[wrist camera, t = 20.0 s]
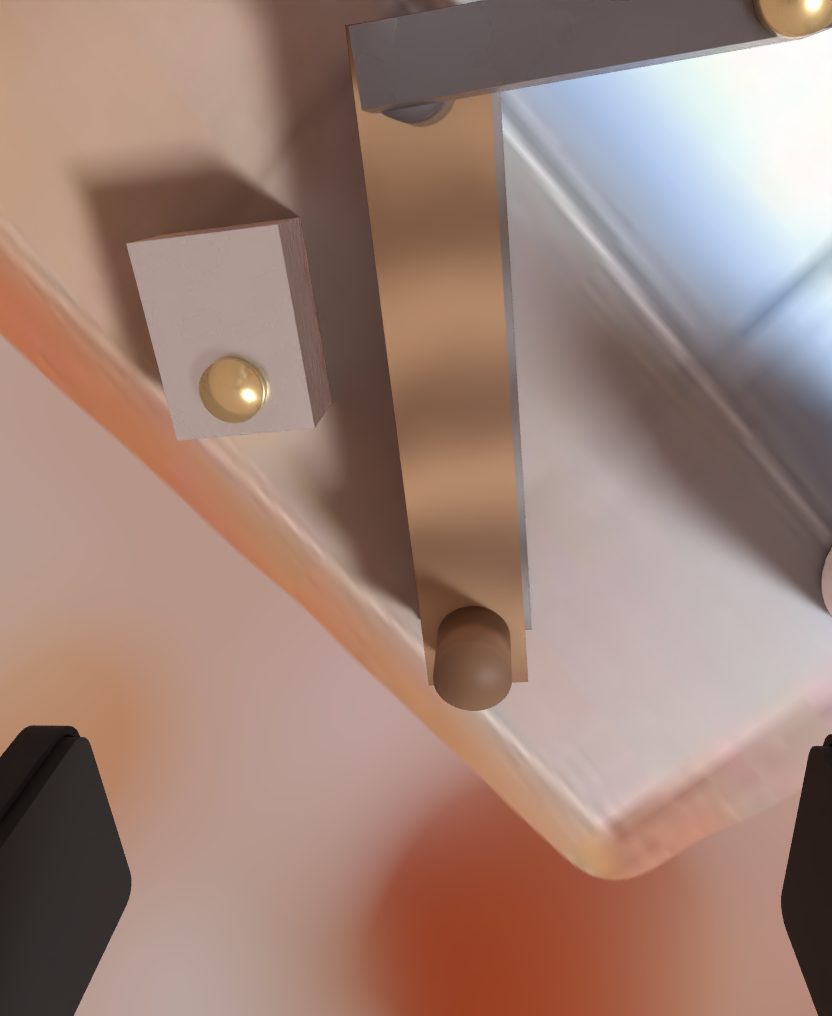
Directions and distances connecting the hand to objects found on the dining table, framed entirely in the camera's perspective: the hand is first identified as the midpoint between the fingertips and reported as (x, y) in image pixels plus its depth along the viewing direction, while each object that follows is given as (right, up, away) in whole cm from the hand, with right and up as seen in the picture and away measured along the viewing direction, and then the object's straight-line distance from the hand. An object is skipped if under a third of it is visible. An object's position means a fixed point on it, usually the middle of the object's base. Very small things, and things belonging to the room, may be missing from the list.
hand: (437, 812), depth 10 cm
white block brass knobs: (-8, +12, +24) cm, 28 cm away
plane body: (+2, +10, +24) cm, 26 cm away
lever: (+4, +18, +15) cm, 24 cm away
